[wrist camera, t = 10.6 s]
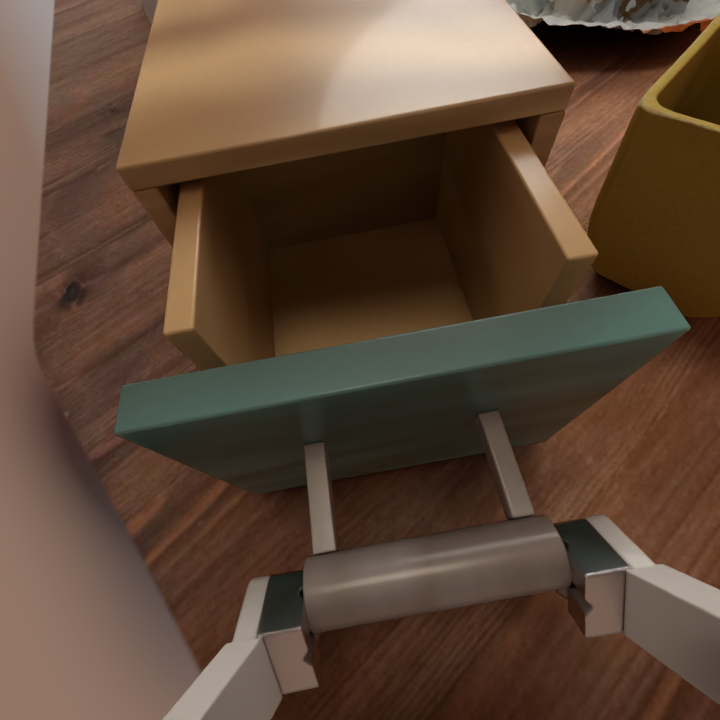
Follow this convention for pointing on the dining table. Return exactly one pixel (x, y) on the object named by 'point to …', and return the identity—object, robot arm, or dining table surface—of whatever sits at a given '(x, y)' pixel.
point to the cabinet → (325, 84)
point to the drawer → (390, 350)
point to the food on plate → (620, 13)
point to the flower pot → (668, 187)
